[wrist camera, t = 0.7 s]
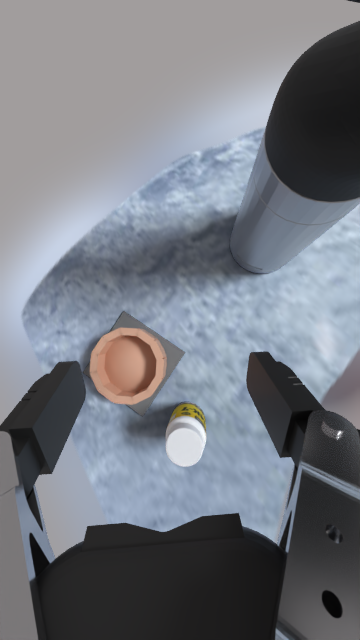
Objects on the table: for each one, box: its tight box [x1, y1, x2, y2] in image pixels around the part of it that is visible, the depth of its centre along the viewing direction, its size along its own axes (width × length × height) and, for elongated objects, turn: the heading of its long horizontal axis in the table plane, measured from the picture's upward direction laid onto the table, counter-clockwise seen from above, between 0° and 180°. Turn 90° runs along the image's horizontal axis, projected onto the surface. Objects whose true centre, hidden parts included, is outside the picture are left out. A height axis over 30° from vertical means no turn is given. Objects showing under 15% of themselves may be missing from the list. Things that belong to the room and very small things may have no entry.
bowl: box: [90, 327, 167, 405], centre depth 31 cm, size 10×10×3 cm
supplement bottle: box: [165, 402, 206, 467], centre depth 27 cm, size 5×5×8 cm
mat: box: [83, 311, 185, 416], centre depth 33 cm, size 11×11×1 cm
